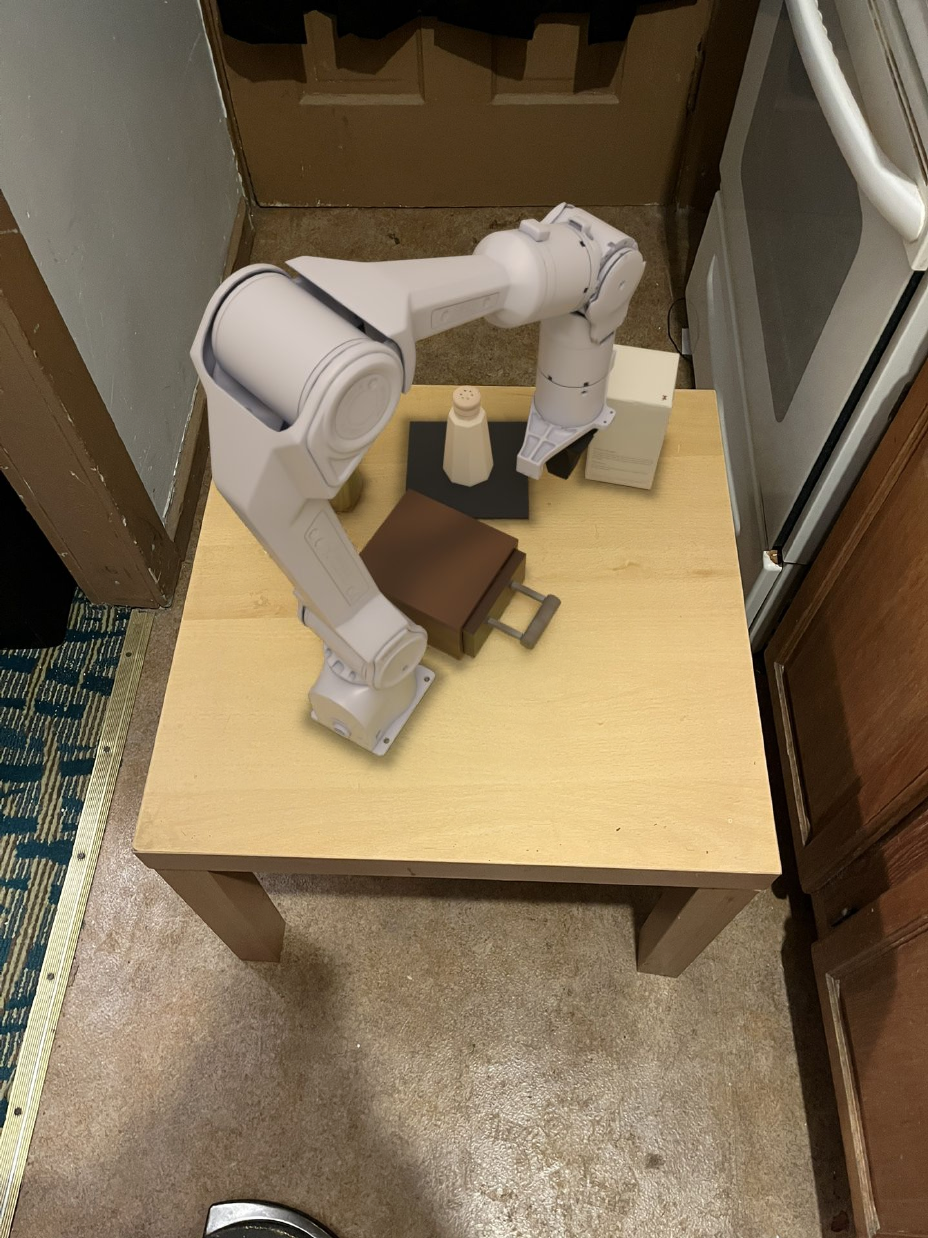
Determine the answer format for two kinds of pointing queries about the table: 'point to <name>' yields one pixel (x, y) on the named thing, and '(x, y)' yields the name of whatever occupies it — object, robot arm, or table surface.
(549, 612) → the drawer
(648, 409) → the white packaging box
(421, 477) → the mat
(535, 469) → the robot arm
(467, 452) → the pepper shaker
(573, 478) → the table surface
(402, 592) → the cabinet
